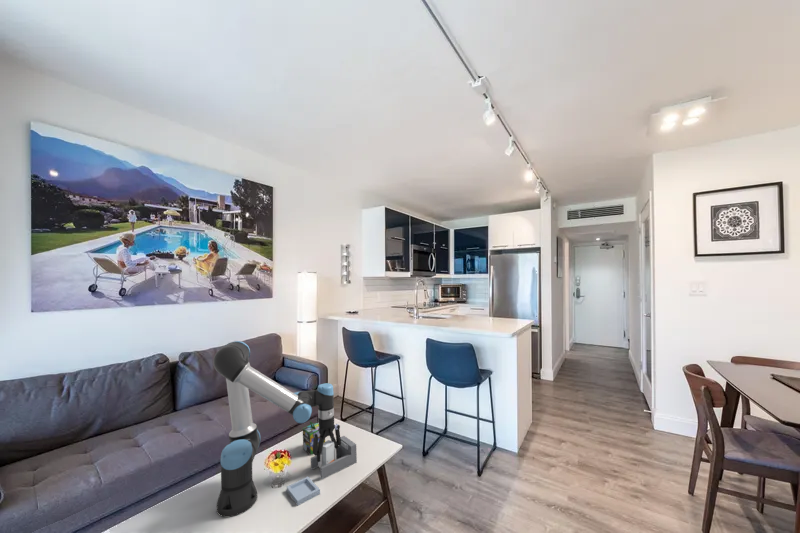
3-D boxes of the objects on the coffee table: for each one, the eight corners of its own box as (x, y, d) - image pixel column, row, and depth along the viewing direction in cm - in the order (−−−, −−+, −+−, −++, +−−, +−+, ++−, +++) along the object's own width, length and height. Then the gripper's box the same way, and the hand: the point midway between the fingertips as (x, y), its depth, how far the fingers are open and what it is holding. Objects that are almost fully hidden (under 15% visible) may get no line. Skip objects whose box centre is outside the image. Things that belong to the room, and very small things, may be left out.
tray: (297, 505, 128) (297, 500, 128) (286, 490, 137) (286, 486, 137) (320, 493, 134) (319, 489, 134) (308, 480, 143) (308, 476, 143)
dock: (322, 479, 144) (321, 459, 144) (310, 468, 153) (310, 449, 153) (356, 462, 156) (356, 444, 156) (344, 452, 165) (344, 435, 165)
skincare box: (326, 473, 148) (325, 447, 149) (319, 470, 151) (319, 445, 151) (335, 466, 153) (334, 441, 154) (328, 463, 156) (328, 439, 156)
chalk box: (325, 448, 169) (325, 421, 170) (310, 455, 163) (309, 427, 164) (318, 442, 176) (317, 416, 177) (302, 448, 170) (301, 421, 171)
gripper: (310, 426, 143) (311, 476, 143) (347, 412, 156) (349, 459, 156) (303, 420, 149) (304, 469, 148) (340, 408, 162) (341, 452, 161)
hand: (327, 464), depth 152 cm, fingers closed on skincare box, 7 cm apart
